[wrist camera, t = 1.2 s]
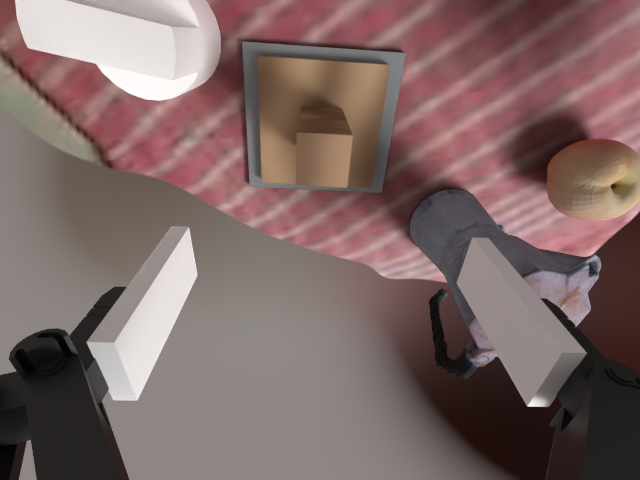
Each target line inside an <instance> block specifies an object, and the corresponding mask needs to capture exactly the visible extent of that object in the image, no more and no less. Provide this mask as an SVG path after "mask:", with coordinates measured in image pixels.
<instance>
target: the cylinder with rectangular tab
mask: <svg viewBox="0 0 640 480" xmlns="http://www.w3.org/2000/svg"><path fill="white" fill-rule="evenodd" d="M15 3H16V14H17V20H18V23H19V26H20V29H21V32H22V35H23V38H24V41H25V43H26V45H27V47H28V48H30V49H34V50H39V51H43V52H47V53H52V54H56V55H60V56H65V57H69V58H74V59H78V60H82V61H87V62H91V63H96V64H97V66H98V67H99V68H100V70H101V71H102V73H103V74H105V75H106V76H107V77H108V78H109V79H110V80H111V81H112V82H113V83H114V84H115V85H117V86H118V87H120V88H121V89H123V90H125V91H126V92H128V93H130V94H132V95H135V96H137V97H140V98H143V99H148V100H159V101H160V100H166V99H171V98H174V97H177V96H179V95H181V94H183V93H185V92H188V91H190V90H192V89H194V88H196V87H198V86H200V85H201V84H203V83H205V82H206V81H207V80H208V79H209V78H210V77H211V76H212V75H213V73H214V71H215V69H216V67H217V65H218V63H219V59H220V53H221V35H220V31H219V27H218V24H217V20H216V17H215V16H214V14H213V12H212V10H211V8H210V6H209V4H208V3H207V2H206V0H15Z"/></svg>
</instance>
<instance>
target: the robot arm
mask: <svg viewBox="0 0 640 480" xmlns="http://www.w3.org/2000/svg"><path fill="white" fill-rule="evenodd" d="M196 277H197V270H196V264H195V259H194V253H193V247H192V242H191V236H190V231H189V227H176V226H172V227H171V228H170V229H169V231H168V232H167V233H166V235H165V236H164V237H163V239H162V240H161V241H160V243H159V244H158V246H157V247H156V248H155V250H154V251H153V252H152V254H151V255H150V257H149V258H148V259H147V260H146V262H145V263H144V265H143V266H142V267H141V269H140V270H139V271H138V273H137V274H136V276H135V277H134V278H133V280H132V281H131V282H130V284H129V285H128V286H127V287H114V288H112V289H111V290H110V291H108V292H107V293H105V294H104V295H102V296H101V297H100V299H99V300H98V301H97V302H96V304H95V305H94V308H92V309H91V310H90V311H89V313H88V314H87V316H86V317H84V319H83V320H82V321H81V322H80V323H79V325H78V326H77V327H76V328H75V330H74V331H73V332H72V333H71V335H70V336H69V335H68V334H67V332H66V331H65V330H61V329H47V330H43V331H40V332H36V333H34V334H32V335H30V336H28V337H26V338H25V339H23V340H22V341H21V342H19V343H18V344H17V345H16V346H15V347H14V348H13V350H12V351H11V352H10V356H9V360H10V361H11V363H12V364H13V366H14V368H15V369H16V371H17V372H12V373H8V374H3V375H0V480H19V476H20V471H21V466H22V461H23V456H24V452H25V446H26V442H27V441H28V440H31V443H32V450H33V456H34V464H35V470H36V477H37V480H129V477H128V474H127V471H126V468H125V466H124V463H123V460H122V457H121V454H120V451H119V448H118V446H117V443H116V439H115V437H114V434H113V431H112V428H111V425H110V422H109V419H108V416H107V413H106V410H105V408H104V405H103V403H102V400H103V398H104V396H105V394H106V393H107V391H108V390H109V392H110V394H111V396H112V398H113V400H134V401H137V400H138V398H139V396H140V394H141V392H142V390H143V388H144V386H145V383H146V381H147V379H148V377H149V375H150V373H151V371H152V368H153V367H154V365H155V362H156V360H157V358H158V356H159V354H160V352H161V350H162V348H163V346H164V344H165V342H166V340H167V338H168V336H169V333H170V331H171V329H172V327H173V325H174V323H175V321H176V319H177V317H178V315H179V312H180V310H181V308H182V306H183V304H184V302H185V300H186V298H187V296H188V294H189V292H190V290H191V288H192V286H193V283H194V281H195V279H196ZM457 285H458V287H459V288H460V290H461V292H462V294H463V295H464V297H465V299H466V300H467V302H468V304H469V306H470V307H471V309H472V311H473V313H474V314H475V316H476V318H477V320H478V321H479V323H480V325H481V327H482V328H483V330H484V332H485V334H486V335H487V337H488V339H489V340H490V342H491V344H492V346H493V347H494V349H495V351H496V353H497V354H498V356H499V358H500V359H501V361H502V363H503V365H504V366H505V368H506V370H507V372H508V373H509V375H510V377H511V379H512V380H513V382H514V384H515V385H516V387H517V389H518V391H519V392H520V394H521V396H522V398H523V399H524V401H525V403H526V405H527V406H539V407H540V406H541V407H549V406H550V404H551V403H552V402H553V400H554V399H555V397H556V396H557V397H558V398H559V399H560V401H561V402H562V404H563V405H564V406H563V407H562V408H561V410H560V411H559V412H558V414H557V415H556V416H555V418H554V419H553V420H552V422H551V424H550V425H551V426H552V427H554V425H555V424H556V423H557V426H556V431H555V436H554V441H553V446H552V451H551V456H550V461H549V466H548V471H547V476H546V480H640V376H639V375H638V374H637V373H636V372H634V371H633V370H632V369H631V368H629V367H627V366H625V365H623V364H622V363H619V362H616V361H613V360H609V359H605V358H604V356H603V355H602V354H601V353H600V352H599V351H598V350H597V349H596V348H595V346H594V345H593V344H592V343H591V342H590V341H589V340H588V339H587V338H586V336H585V335H584V334H583V333H582V332H581V331H580V330H579V329H577V328H576V325H575V324H574V323H573V322H572V321H571V320H569V318H568V316H567V315H566V314H565V313H564V312H563V311H562V310H561V309H560V308H559V307H558V306H557V305H555V304H554V303H552V302H551V301H549V300H548V299H547V298H539V297H538V295H537V294H536V293H535V292H534V291H533V290H532V288H531V287H530V286H529V285H528V284H527V283H526V281H525V280H524V279H523V278H522V277H521V276H520V274H519V273H518V272H517V271H516V270H515V269H514V267H513V266H512V265H511V264H510V263H509V262H508V260H507V259H506V258H505V257H504V256H503V255H502V253H501V252H500V251H499V250H498V249H497V248H496V246H495V245H494V244H493V243H492V242H491V241H490V239H489V238H476V237H472V240H471V243H470V246H469V248H468V251H467V254H466V257H465V260H464V263H463V266H462V269H461V272H460V275H459V277H458V280H457Z"/></svg>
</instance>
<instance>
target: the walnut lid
mask: <svg viewBox="0 0 640 480" xmlns="http://www.w3.org/2000/svg"><path fill="white" fill-rule="evenodd" d="M389 69H390V65H389V64H378V63H363V62H349V61H334V60H319V59H305V58H290V57H276V56H261V55H259V56H258V84H259V114H260V144H261V174H262V182H267V183H287V184H296V185H301V186H321V187H342V188H347V186H348V187H368V188H371V187H372V181H373V174H374V167H375V161H376V154H377V148H378V141H379V135H380V128H381V122H382V115H383V109H384V102H385V96H386V89H387V83H388V76H389Z"/></svg>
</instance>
